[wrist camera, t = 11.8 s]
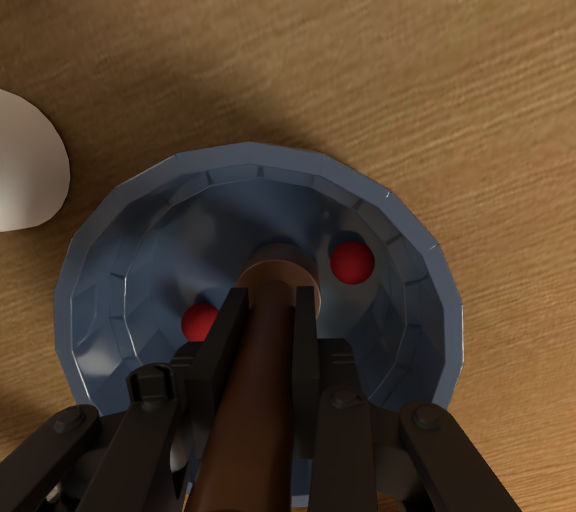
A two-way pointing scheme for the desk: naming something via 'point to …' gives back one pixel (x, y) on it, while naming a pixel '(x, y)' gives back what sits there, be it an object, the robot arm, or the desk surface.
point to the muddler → (258, 394)
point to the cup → (29, 165)
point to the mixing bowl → (230, 261)
